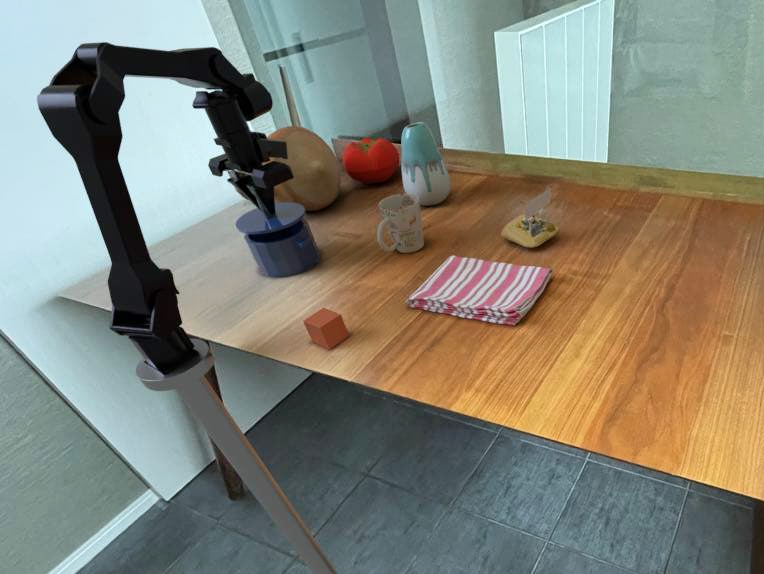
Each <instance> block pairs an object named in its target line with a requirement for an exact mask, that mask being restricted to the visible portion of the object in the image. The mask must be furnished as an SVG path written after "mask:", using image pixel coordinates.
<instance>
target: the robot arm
mask: <svg viewBox="0 0 764 574" xmlns="http://www.w3.org/2000/svg"><path fill="white" fill-rule="evenodd" d="M126 77H127V78H128V77H129V78H143V79H144V78H146V79H164V80H165V79H167V80H171V81H174V82H177V83H178V84H180V85H183V86H185V87H190V88H194V89H205V90H199V91H198V90H197V91H195V97H194V99H193V101H192V108H193V109H194V110H195V109H196V110H204V112H205V114H206V116H207V117H208V120H209V122H210V124H211V126H212V128H213V130H214V131H213V132H214V133H215V135H216V137H215V138H213V141H214V143H215V145H216V146H221V148H222V150H223V153H222V154H220V155H217V156H215V157H211V158H209V161H208V164H207V166H208V168H209V170H210V172H211V175H212V176H216V177H219V178H221V177H223V176H224V172H227V174H228V176H229V178H227V179H226V181H227V182H228V183H229V184H231V185H232V186H233V188H235V187H236V188H237V189H238V190H239V191H240V192H241V193H242V194H243V195H244V196H245V197H247V198H248V199H249V200H248V201H250V202H251V203H252V204H253V205H254V206H255V207H256V208H258V209H259V210H260V211H261V209H260V207H259V205H258V202H257V200H256V198H257V199H258V201H259V202H260V203H261V204H262V206H263V207H264V208H265V209H266V210H267V211H268V213H269V214H271V215H273V214H275V212H276V211H275V203H276V201H275V200H274V186H277V185H279V184H281V183H283V182H286V181H288V180H290V179H293V178H294V175H293V172H292V170H291V167H290V166H288V165H286V164H285V163H281V162H276V161H272V162H269V163H267V164H265V165H262V163H264V162H265V163H266V162H268V161H271V160H270V158H269V157H273V158H283V159H288V154H287V143H286V141H280V140H274V139H267V137H268V136H267V135H266V133H265V132H259V131H253V130H251V129H250V127H249V124H248V122H251V121H254V120H256V119H257V118H259V117H261V116H263V115H265V114H267V113H269V112H270V111H271V110H272V109H273V105H274V103H273V97H272V94H271V92H270V91H269V90H268V89H267V88H266V86H265V85H263V84H262V83H261V82H260V81H258V80H256V78H255V75H254V73H252V72H251V73H250V72H249V73H241V71H239V70H238V69H237V68H236V67H235V66H234V64H232V63H231V62H230V61H229V60H228V59H227V57H226V56H225V55H224V54H223V51H222V50H221V49H219V48H217V47H215V46H208V47H206V46H205V47H187V48H186V47H185V48H178V49H172V50H171V49H170V50H164V49H156V48H155V49H153V48H146V47H145V48H143V47H134V46H125V45H117V44H116V45H115V44H112V43H111V42H107V41H103V42H84V43H81V44H79V46H78V47H76V49H75V51H74V52H73V54H72V56H71V58H70V59H69V61H68V62H67V63H66V64H64V66H63V67H61V68H60V69H59V70H58V71H57V72H56V73H55V74H54V75H53V77H52V79H51V80H50V83H49V85H47V86H45V87H44V88H42V89H41V90H40V93H39V94H38V95H37V96H36V102H37V107H38V110H39V113H40V114H41V117H42V118H43V120H44V122H45V124H46V126H47V127H48V129H49V131H50V133H51V135H52V136H53V138H54V139H55V140H56V141H57V142H58V143H59V145H61V146H62V148H63V149H64V150H65V151H66V152H67V153H68V154H69V155H70V156H71V157H72V159H73V160H74V163H75V165H76V168H77V170H78V173H79V176H80V179H81V182H82V184H83V187H84V190H85V192H86V195H87V198H88V201H89V204H90V206H91V209H92V211H93V215H94V217H95V219H96V223H97V225H98V229H99V231H100V234H101V236H102V239H103V242H104V244H105V247H106V250H107V253H108V256H109V258H110V262H111V266H110V270H109V274H108V277H107V287H108V291H109V296H110V302H111V311H110V322H109V329H110V331H112V332H114V333H115V334H117V335H118V336H119V337H120V336H121V337H124V336H127V338H128V339H129V341H130V342H131V343H132V344H133V346H134V347H135V348H136V350H137V351H138V352H139V354H140V355H141V356H142V359H143V358H144V359H145V361H144V363H145V364H146V365H147V366H149V367H150V368H152V369H154V370H155V371H157V372H159V373H160V374H162V375H166V374H168V373H169V372H171V371H173V370H174V369H176V368H178V367H179V366H181V365H183V364H184V363H186V362H188V361H189V360H191V359H193V358H194V357H196V356H198V355H199V352H198V351H197V350H195V349H193V348H194V347H195V346H194V344H193V343H192V341H191V339H192V338H191V337H190V336H189V335H188V333H187V332H186V330H185V329H184V327H182V326H181V325H183V320H182V315H181V311H180V308H179V301H178V295H180V294H181V293H180V291H179V290H178V289H177V286H176V284H175V280H174V273H173V272H172V270H171V269H170V268H163V267H162V268H161V267H159V266H158V265H157V264H156V262H154V261H153V259H152V257H151V255H150V252H149V249H148V245H147V242H146V240H145V237H144V233H143V230H142V227H141V225H140V221H139V219H138V215H137V213H136V210H135V207H134V204H133V201H132V198H131V195H130V194H131V193H130V192H129V188H128V185H127V183H126V179H125V176H124V173H123V170H122V167H121V164H120V161H119V155H120V150H121V146H122V141H123V130H122V125H121V119H120V113H119V112H120V110H121V109H122V106H123V104H124V101H125V99H126V91H125V84H124V80H125V78H126ZM212 90H213V91H212ZM209 91H210V92H209ZM255 197H256V198H255ZM261 212H262V211H261Z"/></svg>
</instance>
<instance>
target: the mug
mask: <svg viewBox="0 0 764 574" xmlns="http://www.w3.org/2000/svg"><path fill="white" fill-rule="evenodd" d="M378 209H379V211H380V214H381V216H382V219H383V220H381V221H380V223H379V224H378V228H377V241H378V244H379V246H380V248H381V249H382V250H384V251H385V252H393V251H395V250H396V251H398V252H399V253H403V254H409V253H415V252H417V251H420V250H421V249H422V248H423V247H424V245H425V239H424V231H423V221H422V213H421V205H420V203H419V198H418V197H417V196H416V195H413V194H406V193H398V194H393V195H390V196H387V197H385V198H383V199H382V200H381V201H379V203H378ZM385 228H387V230H388V233H389V235H390V237H391V239H392V242H393V244H392V245H391V246H388V245H387V244H386V242H385V240H384V236H383V235H384V229H385Z"/></svg>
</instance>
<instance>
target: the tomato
mask: <svg viewBox="0 0 764 574" xmlns="http://www.w3.org/2000/svg"><path fill="white" fill-rule="evenodd" d="M342 156H343V157H342V163H343V167H344V169H345V172H346V173H347V175H348V176H349V178H351V180H353V181H355V182H357V183H362V184H366V185H371V184H377V183H383V182H385V181H387V180H389V179H390V178H391V177H392V176H393V174H394V173H395V172H396V171H397V170H398V168H399V167H400V163H401V162H400V153H399V151H398V149H397V147H396V146H395V145H394V144H393V143H392V142H391V141H389V140H388V139H386V138H383V137H382V138H381V137H378V138H377V139H376V138H374V139H373V138H370V137H366V138H362V139H361V140H360V141H359V142H354V141H352V142H350V143H349V144H348V145H347V146H346V148H345V149H344V152H343V154H342Z"/></svg>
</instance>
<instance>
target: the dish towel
mask: <svg viewBox="0 0 764 574" xmlns="http://www.w3.org/2000/svg"><path fill="white" fill-rule="evenodd" d="M553 272H554V269H553V268H551V267H543V266H534V265H532V266H531V265H518V264H517V265H516V264H513V263H506V262H498V261H489V260H484V259H479V258H475V257H462V256H456V255H454V254H452V255H450V256H449V257H448V258H447V259H446V260H445V261H444V262H443V263H442V264H441V265H440V266H439V267H438V268H437V269H436V270H434V272H433V273H432V274H431V275H430V276H429V277H428V278H427V279H426V280H425V281H424V282H423V283H422V284H421V285H420V286H419V287H418V289H416V290H415V291H414V292H413V293H412V294H410V295H409V296H408V298H407V299H406V300H405V303H406V305H407V306H409V307H410V308H412V309H418V310H419V309H420V310H424V311H427V312H428V311H429V312H433V313H439V314H446V315H450V316H454V317H458V318H462V319H469V320H476V321H482V322H485V323H492V324H498V325H509V326H513V327H514V326H516V325H517V323H518V322H520V321H521V319H523V318H524V316H526V314H527V313H528V312H529V311H530V310H531V309H532V307H533V306H534V304H535V303H536V301H537V299H538V298H539V297H540V296H541V294H542V293H543V292H544V291H545V288H546V286H547V284H548V282H549V281H550V279H551V276H552V275H553Z"/></svg>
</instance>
